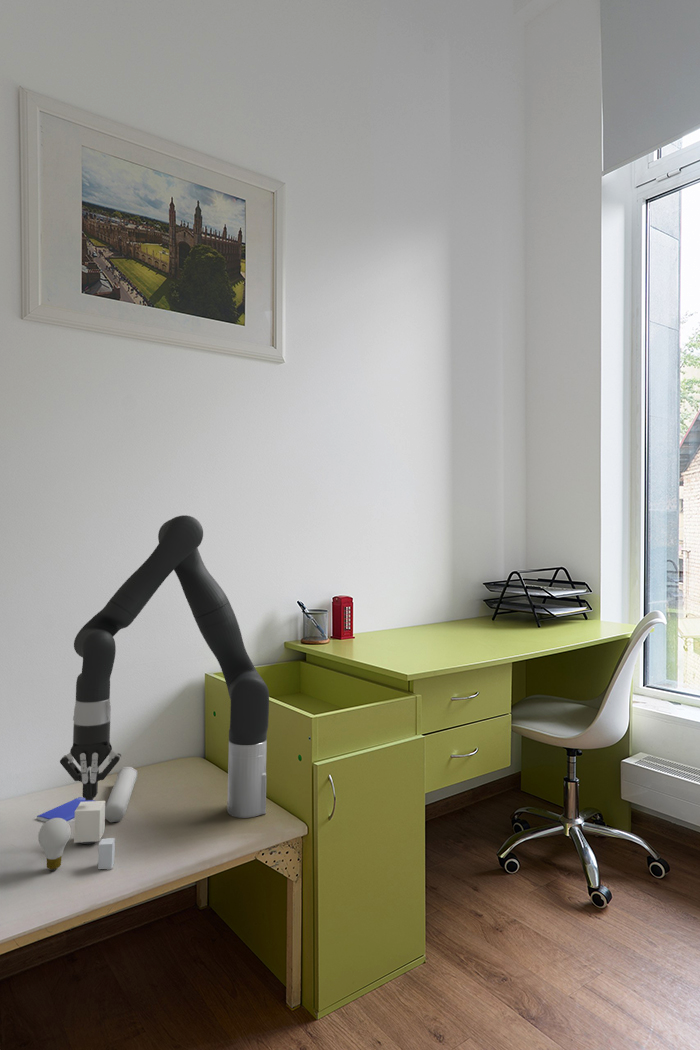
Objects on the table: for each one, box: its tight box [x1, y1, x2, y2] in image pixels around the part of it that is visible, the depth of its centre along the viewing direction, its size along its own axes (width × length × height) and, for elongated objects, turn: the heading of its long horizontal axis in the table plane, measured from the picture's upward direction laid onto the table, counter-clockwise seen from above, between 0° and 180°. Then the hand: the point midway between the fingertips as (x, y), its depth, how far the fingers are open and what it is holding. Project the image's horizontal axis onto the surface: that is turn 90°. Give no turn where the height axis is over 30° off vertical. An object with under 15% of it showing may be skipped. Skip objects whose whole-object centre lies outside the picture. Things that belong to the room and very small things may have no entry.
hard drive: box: [36, 796, 96, 824], centre depth 156 cm, size 2×8×12 cm
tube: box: [105, 766, 138, 823], centre depth 163 cm, size 5×5×25 cm
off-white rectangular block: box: [73, 800, 106, 844], centre depth 142 cm, size 5×5×7 cm
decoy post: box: [97, 837, 116, 870], centre depth 131 cm, size 3×3×5 cm
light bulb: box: [37, 818, 72, 871], centre depth 129 cm, size 6×6×10 cm
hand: (89, 799), depth 142 cm, fingers closed
